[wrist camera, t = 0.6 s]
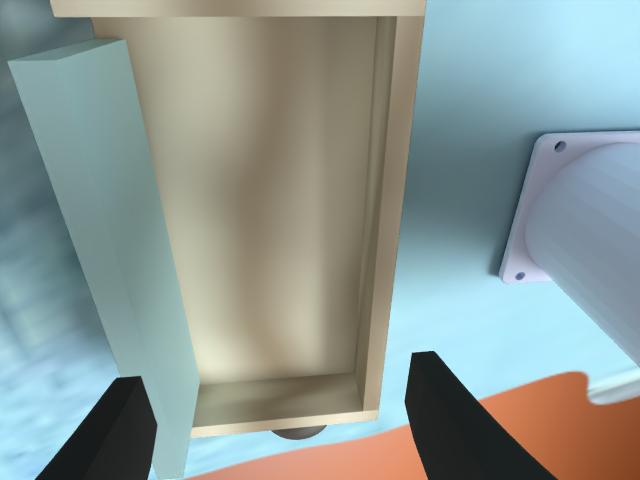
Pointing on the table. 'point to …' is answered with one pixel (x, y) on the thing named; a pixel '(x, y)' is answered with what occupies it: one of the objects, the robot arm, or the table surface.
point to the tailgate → (116, 223)
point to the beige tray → (277, 191)
